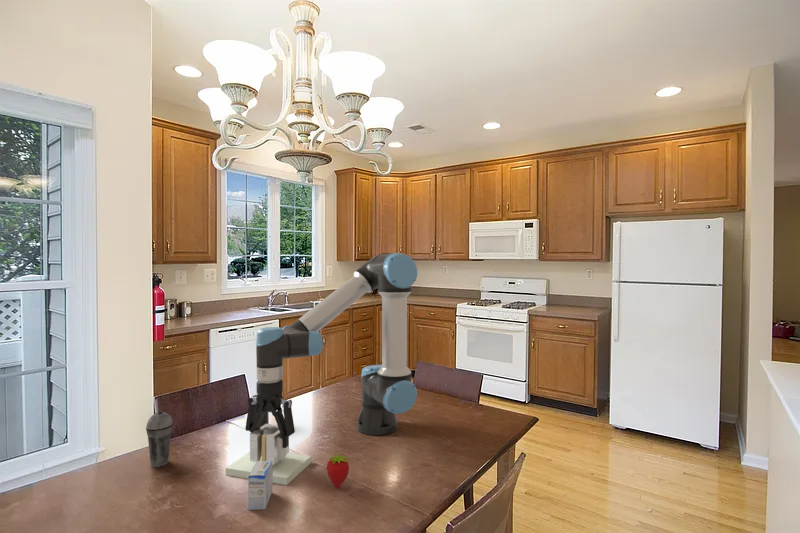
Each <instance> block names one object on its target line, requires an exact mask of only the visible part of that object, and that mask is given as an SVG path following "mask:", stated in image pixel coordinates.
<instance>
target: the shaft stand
mask: <svg viewBox="0 0 800 533" xmlns="http://www.w3.org/2000/svg"><path fill="white" fill-rule="evenodd" d="M275 432H276V427H275V426H268V427H265V428H264V429H263V435H262V457H261V460H260V461H266V436H267V435H268V434H273V433H275ZM258 462H259V461H258ZM255 464H256V462H253V461H250V451H248V452H247V453H246V454H244V455H243V456H241V457H240V458H239V459H237V460H236V461H234V462H232V463H231V464H229V465H228V466H227V467H225V476H230V477H235V478H241V479H247V480H248V476H249V474H250V473H251V471H252V469H253V467H254V465H255ZM310 464H312V455H307V454H300V453H293V452H289V453H288V454H287V455H286V457H285V458H284V459H282V460H279V461H278V462H277V463H276V464H274V465H273V484H276V485H283V486H288V485H289V484H290V483H291V482H292V481H293V480H294V479H295V478H297V476H298V475H299V474H301V473H302V472H303V471H304V470H305V469H306V468H307V467H308V466H309V465H310Z"/></svg>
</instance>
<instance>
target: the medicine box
mask: <svg viewBox="0 0 800 533" xmlns="http://www.w3.org/2000/svg"><path fill="white" fill-rule="evenodd" d="M247 485H248V486H247V487H248V488H247V489H248V490H247V492H248V493H247V509H248V511H258V510H259V511H260V510H262V511H263V510H266V509H267V506H268V504H269V501H270V498H271V496H272V493H273V485H274V483H273V462H272V461H259V462H256V464H255V465H254V467H253V469H252V471H251V473H250V474H249V476H248V479H247Z"/></svg>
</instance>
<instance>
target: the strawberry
mask: <svg viewBox="0 0 800 533" xmlns="http://www.w3.org/2000/svg"><path fill="white" fill-rule="evenodd" d="M341 452H342V450H340V451H339V453H338V455H336V454H333V457H329V460H328V462H327V464H326V471H327V475H328V478H329V480H330V481H331V483H332V485H333V486H334V487H335V489H338V488H341V486H342V484H344V482H345V480H346V478H348V475H349V471H350V465H349V464H350V463H349V462H348V460H346V459H349V458H350V457H349V456H341V454H340V453H341Z"/></svg>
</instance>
